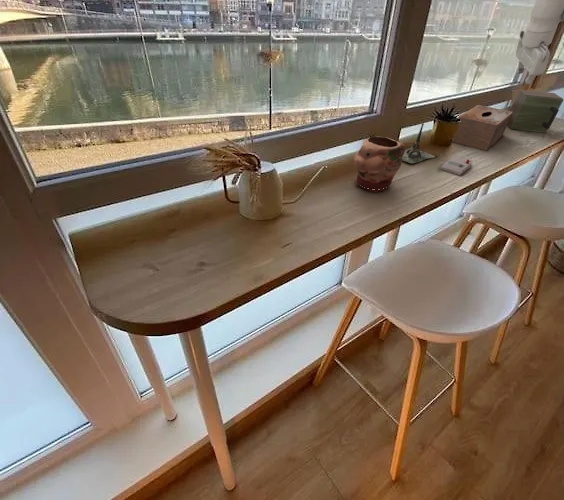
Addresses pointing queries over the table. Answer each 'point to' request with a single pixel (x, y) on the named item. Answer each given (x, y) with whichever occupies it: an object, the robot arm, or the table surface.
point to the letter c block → (536, 114)
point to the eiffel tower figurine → (416, 152)
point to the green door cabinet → (520, 99)
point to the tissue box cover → (482, 126)
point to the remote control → (456, 166)
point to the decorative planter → (378, 162)
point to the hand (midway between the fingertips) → (523, 77)
